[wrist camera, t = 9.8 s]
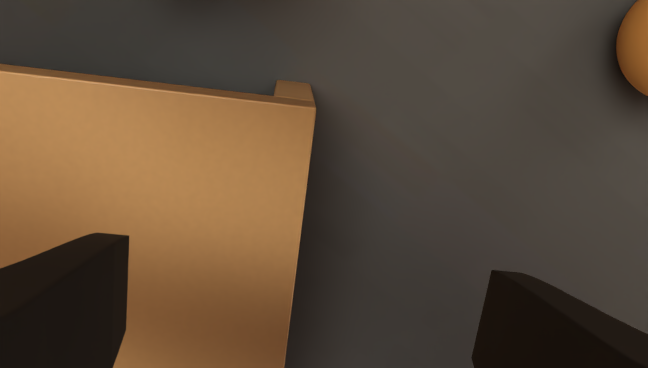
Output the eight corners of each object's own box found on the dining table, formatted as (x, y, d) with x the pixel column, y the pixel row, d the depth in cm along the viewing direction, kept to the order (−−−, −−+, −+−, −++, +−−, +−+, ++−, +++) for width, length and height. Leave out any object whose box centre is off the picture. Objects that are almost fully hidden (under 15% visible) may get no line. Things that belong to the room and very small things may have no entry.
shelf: (275, 377, 24) (270, 506, 18) (-197, 341, 23) (-381, 469, 16) (310, 83, 21) (319, 118, 15) (-243, 16, 19) (-496, 23, 13)
